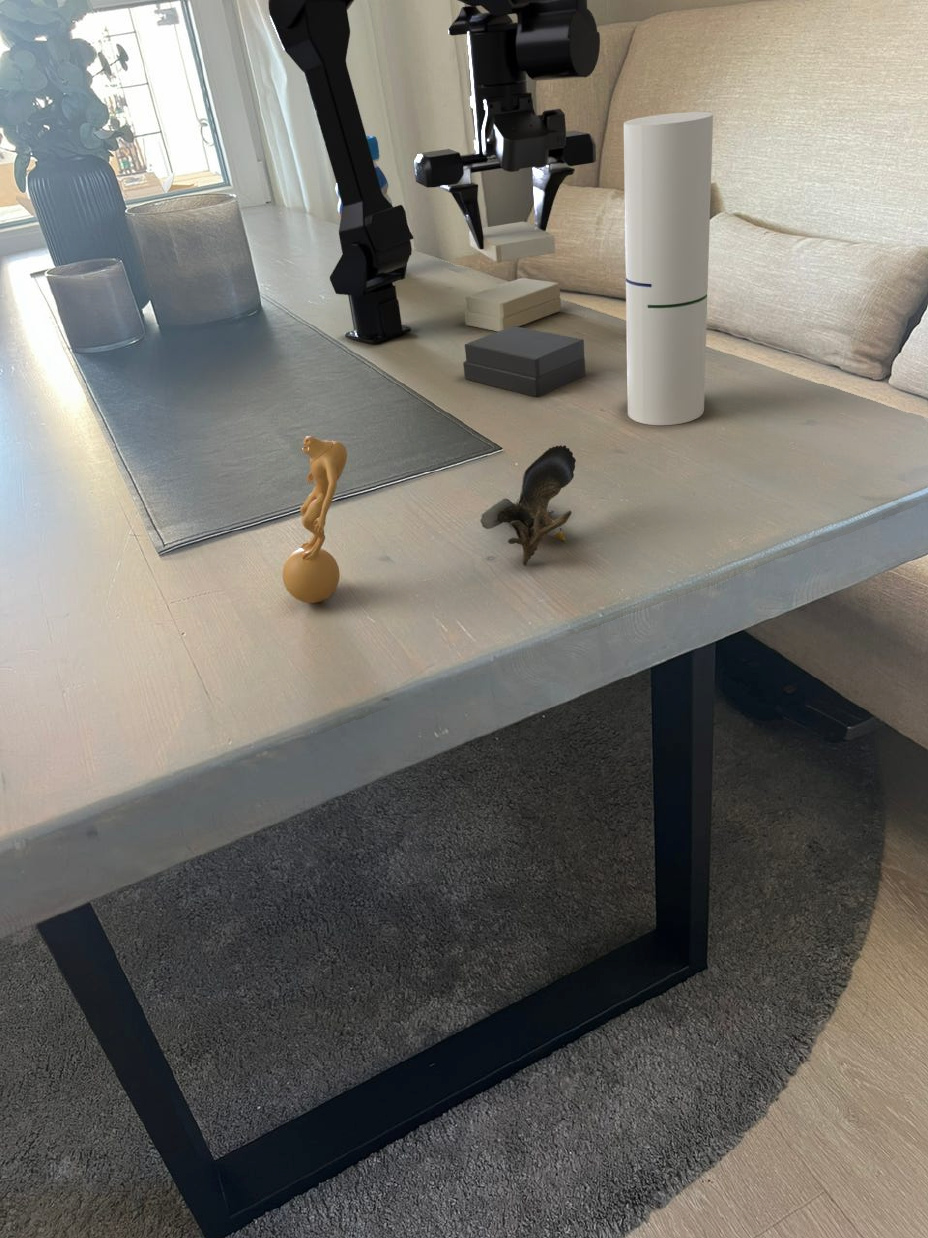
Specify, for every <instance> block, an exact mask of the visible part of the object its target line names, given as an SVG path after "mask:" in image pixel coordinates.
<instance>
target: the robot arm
mask: <svg viewBox="0 0 928 1238" xmlns="http://www.w3.org/2000/svg"><path fill="white" fill-rule="evenodd" d="M457 1H458V2H460V3H463V4H465V5H467V6H462V7H461V8H460V11H459V14H458V16H457V17H456V18H455V20H454V21H453V22H452V23H451V25H450V26H449V28H448V30H447V31H448V35H450V36H453V37H454V36H462V35H463V36H464V35H467V46H468V47H467V48H468V57H469V59H468V60H469V70H470V84H471V96H469V100H470V107H471V108H472V109H473V121H474V130H475V131H474V132H475V139H473V144H474V146H473V147H474V151H475V153H474V152H473V153H467V154H461V152H459V151H456V150H453V149H451V148H445V149H439V150H433V151H426V152H418V154H417V155H416V157H415V158H414V162H413V163H414V164H413V169H414V177H415V183H417V184H419V185H421V186H422V187H423V186H424V187H425V188H430V189H431V188H439V189H441V190H444V191H445V192H448V193H450V194H451V196H452V197H453V199H454V201H455V202H456V204H457V206H458V207H459V209H460V212H461V213H462V216H463V217H464V220H465V222H466V224H467V227H468V228H469V231H471V233H472V235H473V238H474V240H475V242H476V244H477V247H478V248H479V249H480V250H482V249H484V242H483V239H484V237H483V230H482V228H483V223H482V218H481V212H480V207H479V199H478V195H479V184H477V183H476V182H473V179H472V174H474V173H480V172H485V171H486V172H487V171H493V170H494V171H495V170H501V169H502V170H503V171H504V172H505V171H506V172H509V173H515V172H519V171H520V170H521V169H528V168H531V169H532V187H533V189H532V190H533V212H534V213H533V214H534V226H535V227H537V228H539V229H541V230H543V231H546V232H547V227H548V225H549V220H550V216H551V212H552V209H553V205H554V201H555V199H556V196H557V193H558V191H559V189H560V187H561V186H562V183H563V182H564V181H565V179H566V178H567V177H568V176H572V175H574V174H575V171H576V170H575V169H576V168H573V167H575V166H580V165H581V166H582V165H587V164H588V165H589V164H593V163H596V162H597V147H596V142H595V139H594V137H593V136H592V135H591V134H590V133H589V132H584V131H580V130H567V124H566V113H564V111H563V110H562V109H561V108H555V109H547V110H543V111H542V113H541V114H536V112H535V109H534V100H533V97H532V92H529V87H528V86H529V85H528V84H529V83H528V78H530V79H531V80H532V81H536V82H538V81H552V80H554V81H555V80H569V79H581V78H582V79H583V78H588V77H589V76H591V75H592V74H593V72H594V71H595V69H596V66H597V65H598V61H599V56H600V50H601V34H600V32H599V31H598V26H597V23H596V19H595V17H594V14H593V13H592V12H591V10H590V8H588V0H457ZM354 2H355V0H268V2H267V4H268V12H269V17H270V20H271V22H272V25H273V27H274V29H275V30H274V31H275V32H276V34H277V37H278V39H279V41H280V44H281V47H282V48H283V50H284V52H285V53H286V54H287V55H288V56H289V58H290V59H291V60H292V61H293V62H294V64H295V65H296V66H297V67H298V68H299V69H300V71H301V72H302V73H303V75H304V77H305V78H304V79H305V80H306V84H307V87H308V91H309V95H310V98H311V101H312V104H313V108H314V111H315V114H316V115H315V116H316V119H317V121H318V125H319V129H320V132H321V135H322V138H323V142H324V146H325V148H326V153H327V155H328V159H329V163H330V166H331V169H332V172H333V177H334V180H335V183H337V186H338V190H339V193H340V197H341V200H342V205H343V209H342V215H341V217H340V223H339V228H338V237H339V243H340V248H341V253H342V254H341V257H340V258H339V260H338V261H337V263H336V265H335V267H334V269H333V270H332V272H331V274H330V275H329V281H330V283H331V286H332V288H333V290H334V293H335V294H336V295H344V296H347V297H348V302H349V308H350V314H351V320H352V325H353V326H352V327H353V330H351V331H347V332H345V333H344V338H347V339H351V340H354V341H358V342H363V343H366V344H371V345H373V344H374V345H375V344H378V343H381V342H384V341H387V340H390V339H393V338H395V337H399V336H401V335H404V334H407V333H409V332H412V327H411V326H408V325H403V323H402V315H401V309H400V303H399V299H398V294H397V287H396V285H395V284H394V283H396V282H398V281H402V280H405V279H406V274H407V268H408V262H409V260H410V257H411V256H412V254H413V253H412V251H413V250H412V249H413V248H412V241H411V240H414V235H413V233H412V232H411V230H410V226H409V224H408V219H407V218H408V217H407V214H406V209H405V207H404V206H403V204H399V205H395V206H394V205H393V204H392V205H391V204H390V202H389V201H388V200H387V199H386V198H385V197H384V195H383V194H382V191H381V188H380V184H379V181H378V177H377V174H376V170H375V166H374V163H373V159H372V155H371V152H370V148H369V145H368V141H367V137H366V136H367V133H366V131H365V127H364V122H363V120H362V115H361V112H360V109H359V105H358V101H357V98H356V94H355V89H354V87H353V83H352V79H351V75H350V73H349V69H348V64H347V55H348V49H349V43H350V36H351V28H350V21H349V14H348V10H349V8H350V7H351V5H352V4H353V3H354ZM478 7H481V8H483V9H484V10H486V11H487V12H481V11H480V10H479V9H478ZM510 15H516V19H517V20H516V21H513V19H512V18H511V16H510Z"/></svg>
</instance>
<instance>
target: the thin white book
mask: <svg viewBox="0 0 928 1238" xmlns="http://www.w3.org/2000/svg"><path fill="white" fill-rule="evenodd" d="M482 230H483V237H484V239H483V242H484V249H482V250H480V249H479V248H478V247H477V244H476V242H475V240H474V238H473V235H472V233H471V231H470V230H468V234H469V235H468V237H469V246H470V248H473V249H474V250H476V251H478V252H479V253H481V254H482V255H484V256H485V257H488V258H489V259H491V260H492V261H494V262H495V263H505V262H510V261H515V260H522V259H528V258H534V257H540V256H546V255H552V254H555V253H556V246H555V245H556V244H555V243H556V242H555V235H554V234H552V233H550V232H548V231H547V230H546V231H543V230H541V229H539V228H537V227H535V225H532V224H530V223H529V222H526V221H517V222H511V223H506V224H499V225H493V226H486V227H482Z"/></svg>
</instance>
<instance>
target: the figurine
mask: <svg viewBox="0 0 928 1238" xmlns="http://www.w3.org/2000/svg"><path fill="white" fill-rule="evenodd" d="M302 444H303V445H304V446H303V447H302V448H301V449H302V451H303V453H304V454H306V455H308V456H309V457H310V458H309V468H310V472H309V474H308V475H307V477H306V483H305V484H306V485H307V484H309V485H310V484H311V483H312V484H313V483H314V487H313V488H312V491H311V492H310V494H309V495H308V496H307V498H306V500H305V501H304V503H303V504H302V505H301V506H300V509H299V510H300V511H299V512H300V514H301V516H302V518H301V523H302V525H303V527H304V529H305V530H307V531H308V532H310V533H311V534H312V537H310V539H309V540H308V541H305V542H304V543H302V544H301V547H300V548H298V549H296V550H295V551H293V552H292V553H291V554H289V556H288V557H287V559H286V560H285V562H284V564H283V567H282V582H283V585H284V587H285V590H286V591H287V592H288V593H289V595H291V596H292V597H293V598H294V599H296V600H298V601H300V602H303V603H307V604H317V603H320V602H323V601H325V600H327V599H328V598H329V597H331V596H332V595H333V594H334V592H335V591H336V590H337V588H338V585H339V582H340V578H341V577H340V575H341V574H340V572H341V571H340V567H339V565H338V562H337V560H336V559H335V557H334V556H333V555H332V554H331V553H330V552H329V551H327V550H325V548H324V549H323V548H322V546H323V545H324V543H325V540H326V535H325V529H324V528H325V525H326V520H327V519H326V518H327V515H328V512H329V510H330V507H331V504H332V502H333V499H334V496H335V493H336V490H337V486H338V481H339V479H340V478H341V475H342V473H343V472H344V469H345V467H346V464H347V461H348V460H347V459H348V450H347V447H346V446H345V445H344V444H343V443H342V442H340V441H338V440H322V439H319V438H316V437H314V436H311V435H308V436H305V438H304V439H303V440H302Z"/></svg>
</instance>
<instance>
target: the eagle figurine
mask: <svg viewBox="0 0 928 1238" xmlns="http://www.w3.org/2000/svg"><path fill="white" fill-rule="evenodd" d="M573 455H574V453H573V452H572V451H571V450H570V448H569V447H567V445H566V444H565V445H561V444H560V445H555V446H552V447H549V448H548V449H546V450H545V451H544V452H543V453H542V454H541V455H540V456H539V457H538V458H537V459H535V460H534V461H533V462H532V463H531V465H529V466H528V467H527V469H526V470H525V471H524V473H523V475H522V484H521V487H520V488H521V489H520V494H519V498H518V499H517V500H516V501H515V502H512V500H510V499H509V498H502V499H501V500H498V501H496V503H494V504H492V505H491V506H490V507H488V508H487V509H486V510H484V511H483V512H482V513H481V516H480V517H481V518H480V519H479V522H480V525H481V526H482V528H484V529H485V530H490V529H493V528H496V527H497V526H499V525H501V524H503V523H507V524H510V525H511V527H512V528H513V529H514V531H515V533H516V536H517V537H512V538H509V539H508V540H507V544H510V545H515V544H518V545H521V546H522V560H521V561H522V562H521V563H522V565H523V566H527V565H528V563H529V561H530V560H531V557H534V556H535V553H536V551H537V550H538V546H539V545H540V543H541V542H542V540H543V539H544V537H545V536H546V535H549V536H550V537H554V538H557V539H559V540H561V541H562V542H566V538H565V536H564V535H563V530H562V527H561V526H563V525H564V524H566V523H567V521H568V520H569V518H570V517H571V516H572V513H573V512H572V510H567V511H566V512H564V513H563V514H562V515H561V516H559V517H557V518H556V519H555V520H553V519H552V518H551V517H550V515H549V514H553V513H554V512H555V511H554V510H548V506H549V503H550V502H551V500H552V499H554V498H555V497H556V496H557V495H559V493H560V492H561V490H562V489H563V488H566V487H567V485H569V484H570V483H571V482H572V480H573V479H574V477H575V474H574V472H575V469H576V462H577V459H576V458H575V457H574V456H573Z"/></svg>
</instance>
